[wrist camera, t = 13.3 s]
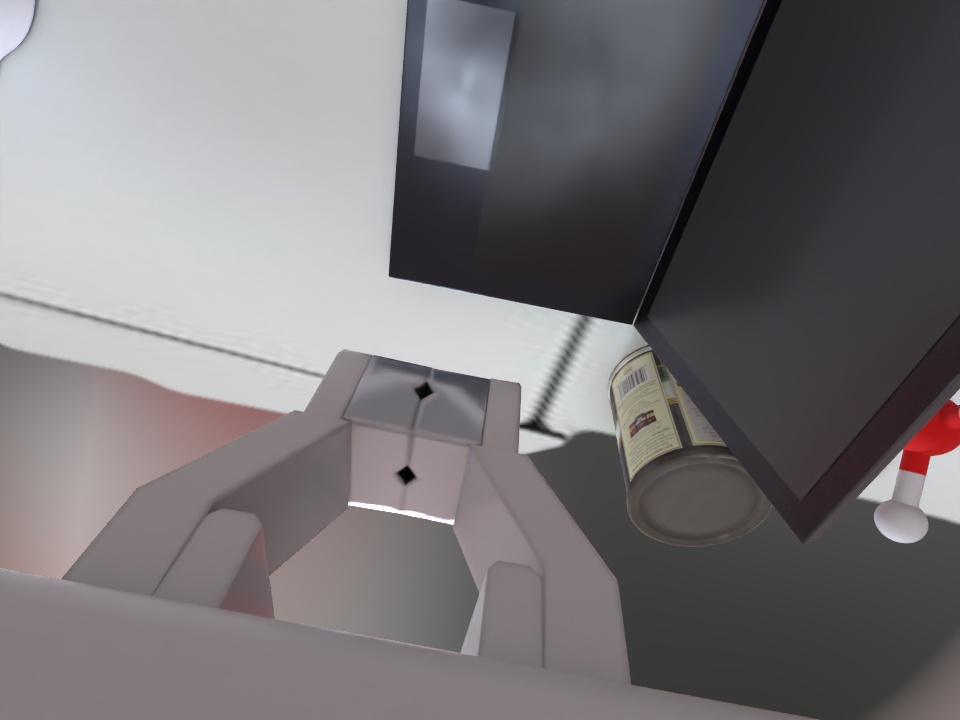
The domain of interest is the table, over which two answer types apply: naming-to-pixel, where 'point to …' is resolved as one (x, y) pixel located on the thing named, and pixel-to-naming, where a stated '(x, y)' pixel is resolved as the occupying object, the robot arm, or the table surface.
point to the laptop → (554, 142)
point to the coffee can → (677, 461)
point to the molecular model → (917, 476)
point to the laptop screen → (822, 250)
